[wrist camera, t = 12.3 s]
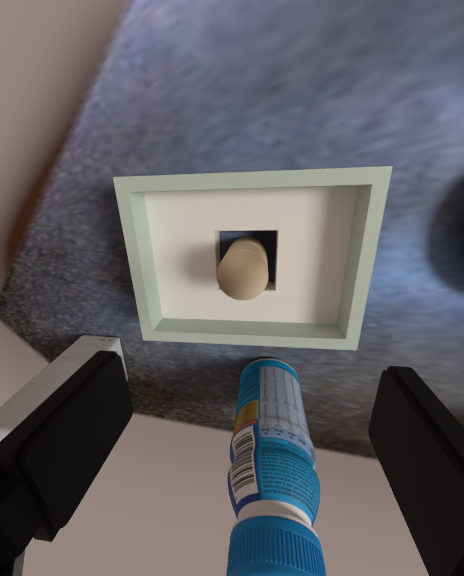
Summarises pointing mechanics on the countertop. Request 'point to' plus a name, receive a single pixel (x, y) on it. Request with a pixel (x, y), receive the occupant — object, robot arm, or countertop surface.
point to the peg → (244, 269)
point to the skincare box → (53, 379)
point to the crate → (288, 259)
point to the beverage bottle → (273, 477)
